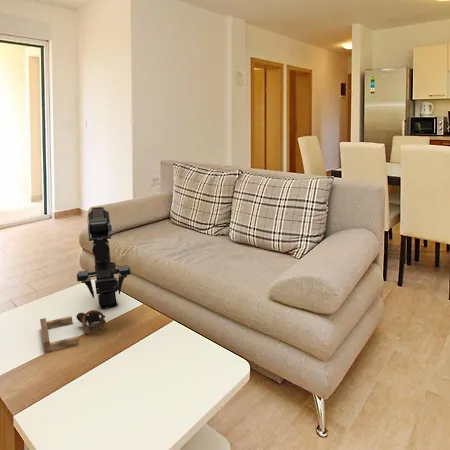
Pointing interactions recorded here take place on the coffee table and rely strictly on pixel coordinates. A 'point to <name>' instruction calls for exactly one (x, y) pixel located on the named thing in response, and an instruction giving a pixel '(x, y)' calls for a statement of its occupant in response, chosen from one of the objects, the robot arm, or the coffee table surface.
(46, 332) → the walnut guide channel
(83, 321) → the pottery mug
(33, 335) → the coffee table surface
